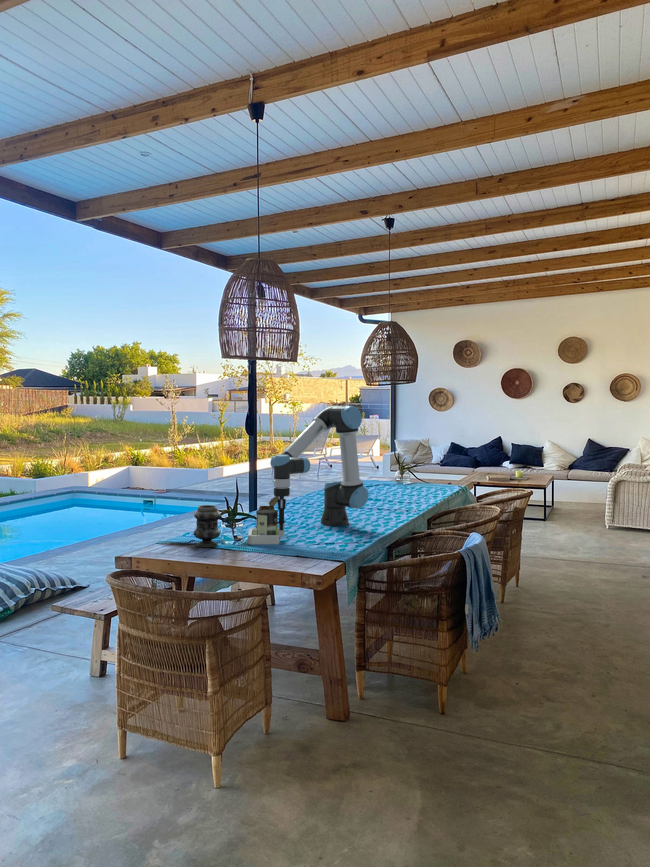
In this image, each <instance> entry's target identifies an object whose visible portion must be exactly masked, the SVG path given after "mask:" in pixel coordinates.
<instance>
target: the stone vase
mask: <svg viewBox="0 0 650 867" xmlns="http://www.w3.org/2000/svg"><path fill="white" fill-rule="evenodd" d="M213 508H214V509H213ZM211 515H212V516H211ZM193 516H194V518H195V519H196V528H195V529H194V531H193V536H194V537H195V538H197V539H198V540H201V541H199V542H197V543H196V544H195V545H196V547H199V548H213V547H217V546H218V545H219V544H218V542H216V541H213V540H215V539H217V538H218V537H219V536H221V530H220V529H219V528H218V527H219V526H218V525H219V524H218V522H219V519H220V517H221V513H220V511H219V510H218V507H217V506H216V505H213V504H201V505H199V506H198V507H197V510H195V511H194V514H193Z"/></svg>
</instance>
